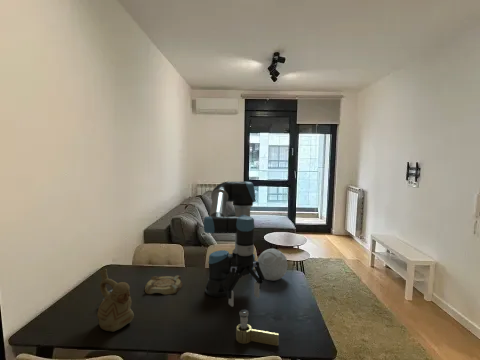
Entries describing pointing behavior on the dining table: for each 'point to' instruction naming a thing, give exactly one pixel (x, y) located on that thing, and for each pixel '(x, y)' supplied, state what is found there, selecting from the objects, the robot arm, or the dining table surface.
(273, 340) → the hinge
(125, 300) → the ceramic vessel
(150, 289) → the ashtray
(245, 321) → the pin
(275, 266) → the decorative sphere
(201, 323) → the dining table surface
